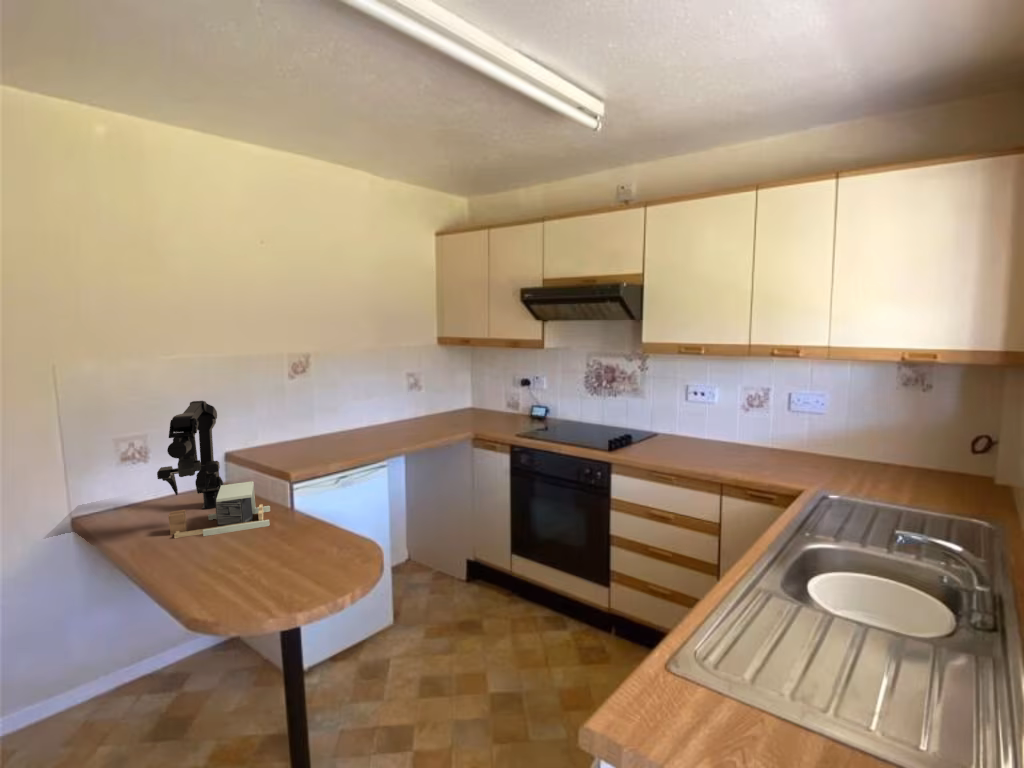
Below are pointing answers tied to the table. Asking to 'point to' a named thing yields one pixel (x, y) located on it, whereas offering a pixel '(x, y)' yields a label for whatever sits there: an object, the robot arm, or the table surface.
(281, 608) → the table surface
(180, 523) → the wooden block with bar
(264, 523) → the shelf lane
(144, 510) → the table surface
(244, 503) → the small box
